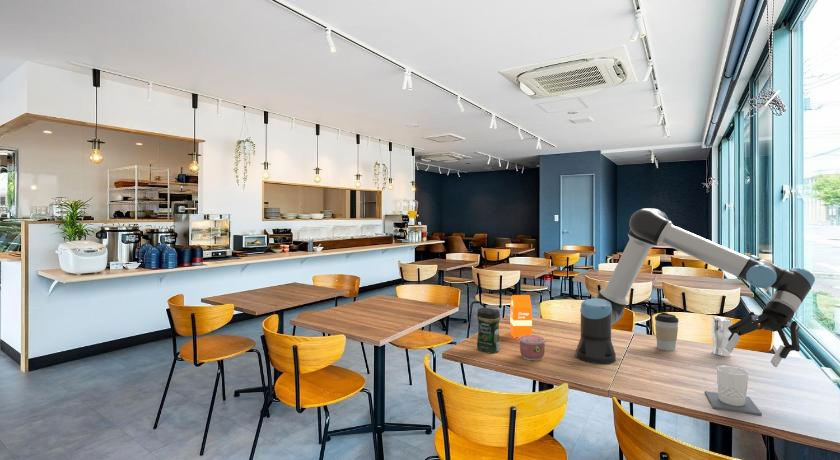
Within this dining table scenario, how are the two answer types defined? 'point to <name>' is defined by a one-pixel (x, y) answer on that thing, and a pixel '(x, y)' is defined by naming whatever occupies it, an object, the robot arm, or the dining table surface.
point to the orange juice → (520, 316)
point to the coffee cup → (666, 331)
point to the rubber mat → (746, 408)
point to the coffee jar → (488, 330)
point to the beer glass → (720, 335)
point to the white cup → (732, 385)
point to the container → (532, 347)
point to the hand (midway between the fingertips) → (749, 357)
